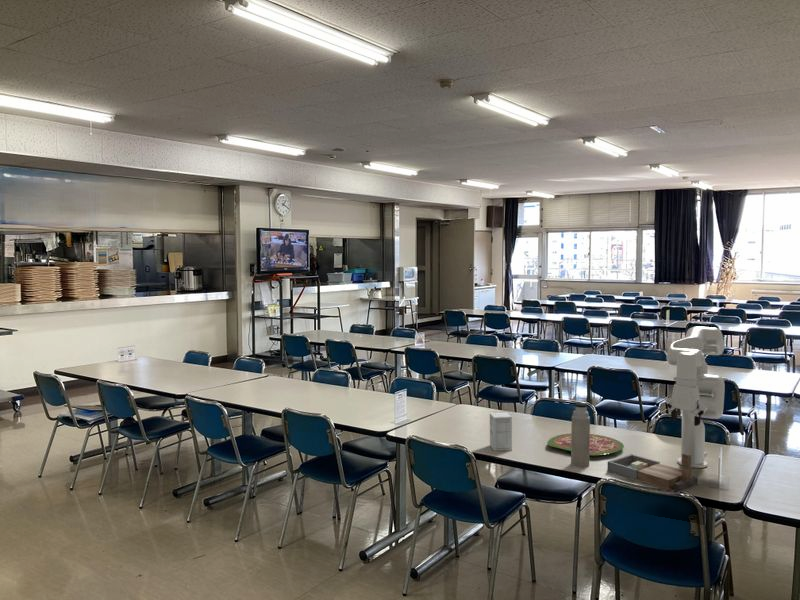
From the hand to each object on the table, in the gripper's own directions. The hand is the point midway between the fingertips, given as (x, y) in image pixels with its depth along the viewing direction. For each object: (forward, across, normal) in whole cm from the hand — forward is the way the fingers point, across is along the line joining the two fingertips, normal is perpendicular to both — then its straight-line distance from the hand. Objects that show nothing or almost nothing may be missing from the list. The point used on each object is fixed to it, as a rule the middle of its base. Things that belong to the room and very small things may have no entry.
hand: (685, 422), depth 259 cm
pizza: (+28, -55, +10) cm, 63 cm away
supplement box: (+26, -81, -25) cm, 89 cm away
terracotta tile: (+23, -20, -1) cm, 30 cm away
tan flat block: (+26, -7, -5) cm, 27 cm away
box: (+26, -21, -4) cm, 33 cm away
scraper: (+26, +3, -5) cm, 26 cm away
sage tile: (+22, -15, -8) cm, 28 cm away
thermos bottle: (+26, -41, -15) cm, 51 cm away
